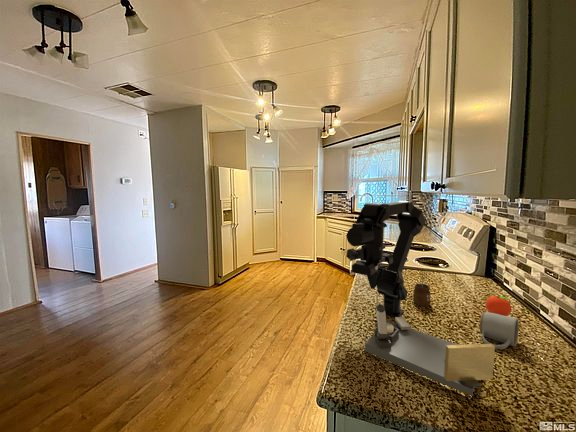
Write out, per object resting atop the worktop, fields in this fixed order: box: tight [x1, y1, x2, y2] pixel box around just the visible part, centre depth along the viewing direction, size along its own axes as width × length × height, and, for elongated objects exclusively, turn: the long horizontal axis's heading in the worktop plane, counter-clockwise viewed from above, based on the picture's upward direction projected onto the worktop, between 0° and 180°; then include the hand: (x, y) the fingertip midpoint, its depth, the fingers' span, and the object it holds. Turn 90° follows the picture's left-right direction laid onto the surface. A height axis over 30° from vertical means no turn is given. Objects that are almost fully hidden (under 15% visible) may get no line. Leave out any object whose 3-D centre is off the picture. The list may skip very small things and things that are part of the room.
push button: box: [387, 323, 394, 335], centre depth 72 cm, size 4×4×2 cm
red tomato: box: [485, 295, 515, 316], centre depth 87 cm, size 8×7×7 cm
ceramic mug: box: [478, 311, 519, 351], centre depth 72 cm, size 11×8×8 cm
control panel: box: [364, 320, 476, 397], centre depth 66 cm, size 16×24×4 cm
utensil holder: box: [412, 270, 432, 307], centre depth 97 cm, size 6×6×12 cm
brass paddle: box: [444, 343, 496, 387], centre depth 54 cm, size 3×10×8 cm, turn 92°
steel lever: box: [375, 304, 390, 340], centre depth 68 cm, size 2×3×9 cm
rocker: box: [394, 316, 412, 330], centre depth 75 cm, size 4×3×1 cm, turn 2°
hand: (372, 288), depth 82 cm, fingers closed
